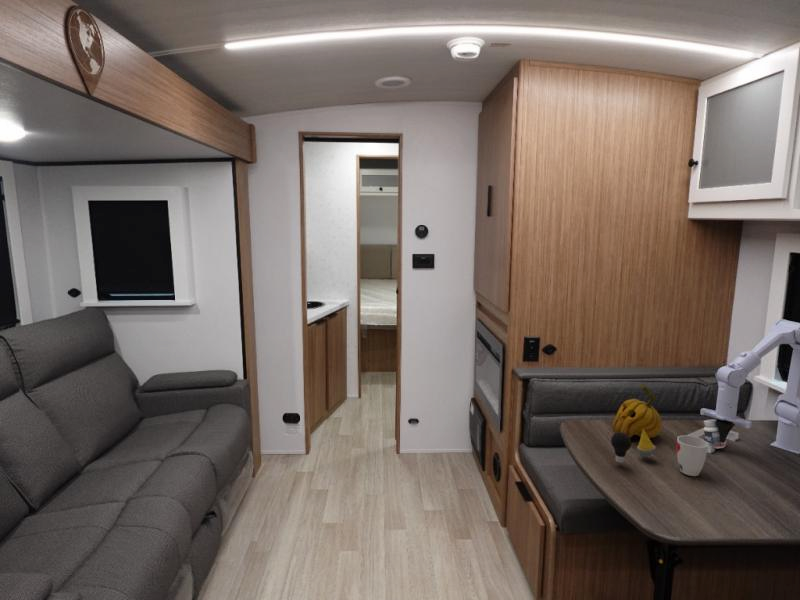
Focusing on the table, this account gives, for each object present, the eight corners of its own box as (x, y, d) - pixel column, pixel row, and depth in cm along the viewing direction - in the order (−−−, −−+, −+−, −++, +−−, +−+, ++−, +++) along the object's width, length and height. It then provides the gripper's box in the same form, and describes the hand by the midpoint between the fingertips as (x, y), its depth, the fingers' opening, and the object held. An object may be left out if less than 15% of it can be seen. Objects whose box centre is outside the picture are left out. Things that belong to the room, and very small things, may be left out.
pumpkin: (649, 459, 167) (684, 413, 166) (618, 436, 163) (654, 390, 162) (625, 440, 180) (657, 398, 179) (595, 419, 176) (628, 376, 175)
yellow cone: (659, 460, 152) (654, 431, 151) (641, 462, 153) (636, 433, 152) (654, 453, 157) (649, 424, 156) (636, 455, 159) (632, 426, 158)
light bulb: (606, 463, 152) (608, 433, 150) (613, 456, 156) (615, 427, 155) (626, 469, 148) (628, 438, 146) (632, 462, 152) (634, 433, 151)
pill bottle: (704, 446, 166) (698, 420, 167) (720, 444, 165) (714, 418, 166) (711, 449, 160) (705, 422, 161) (728, 447, 160) (722, 420, 161)
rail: (710, 430, 177) (711, 424, 177) (737, 439, 170) (738, 433, 169) (682, 443, 166) (683, 436, 166) (710, 453, 159) (711, 446, 159)
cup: (678, 462, 152) (681, 433, 151) (708, 472, 147) (711, 441, 145) (670, 471, 147) (673, 441, 145) (700, 481, 141) (704, 449, 139)
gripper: (698, 398, 162) (693, 436, 164) (747, 411, 150) (741, 452, 152) (707, 394, 166) (703, 431, 168) (756, 407, 154) (751, 447, 156)
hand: (722, 441), depth 160 cm, fingers closed, pressing on pill bottle
